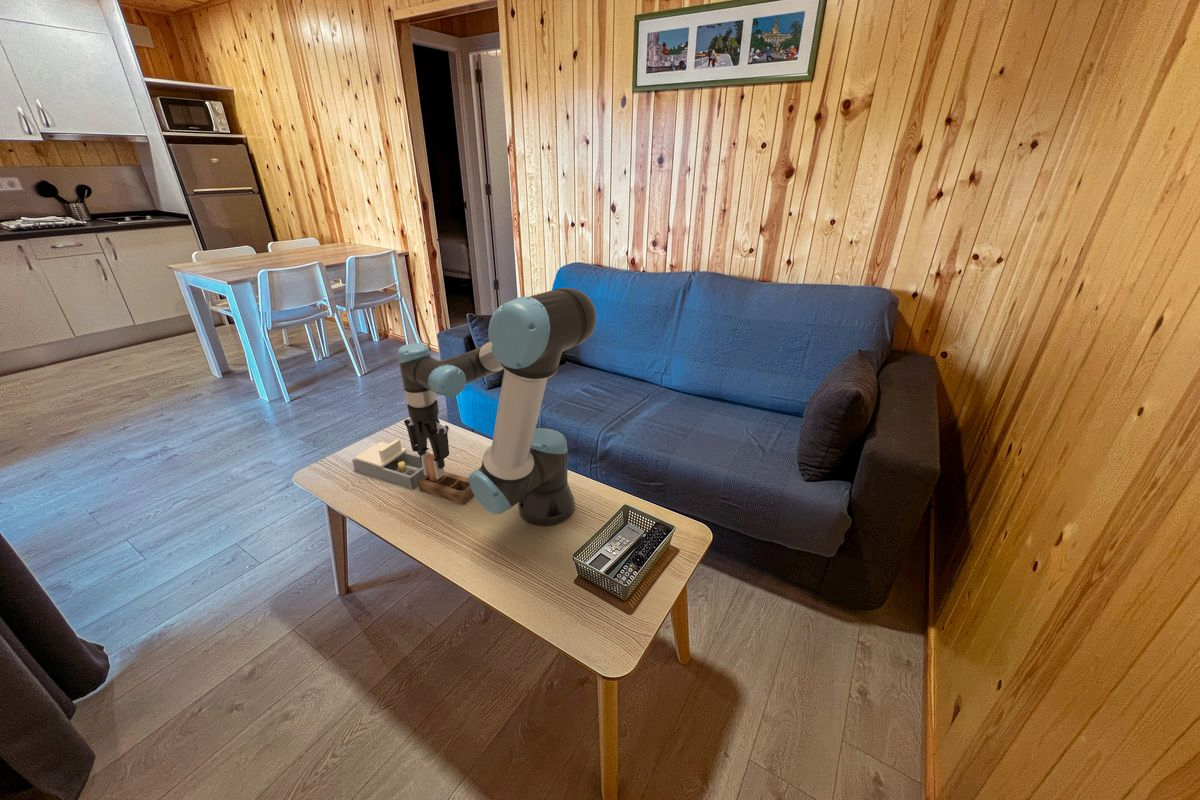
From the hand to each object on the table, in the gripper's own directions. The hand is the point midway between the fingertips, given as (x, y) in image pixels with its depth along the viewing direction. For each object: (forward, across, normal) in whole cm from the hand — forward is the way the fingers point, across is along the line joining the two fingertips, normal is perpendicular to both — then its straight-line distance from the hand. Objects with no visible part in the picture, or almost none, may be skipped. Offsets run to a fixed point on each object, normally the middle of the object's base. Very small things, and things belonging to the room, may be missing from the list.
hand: (434, 474), depth 132 cm
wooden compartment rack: (+4, -5, 0) cm, 6 cm away
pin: (+4, 0, 0) cm, 4 cm away
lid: (0, +21, -1) cm, 21 cm away
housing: (+4, +16, -1) cm, 17 cm away
